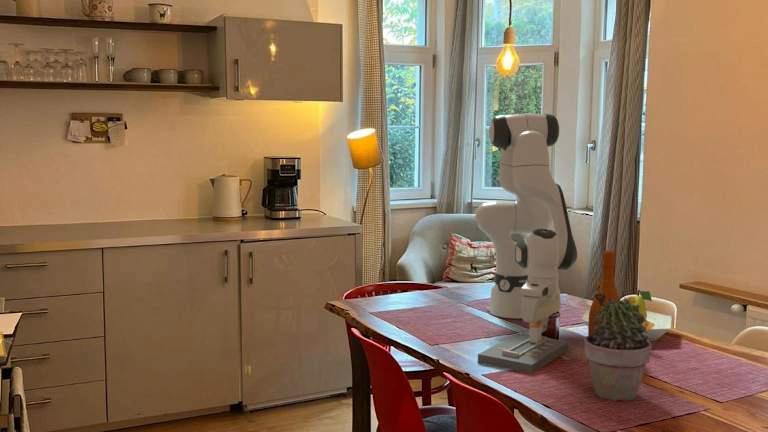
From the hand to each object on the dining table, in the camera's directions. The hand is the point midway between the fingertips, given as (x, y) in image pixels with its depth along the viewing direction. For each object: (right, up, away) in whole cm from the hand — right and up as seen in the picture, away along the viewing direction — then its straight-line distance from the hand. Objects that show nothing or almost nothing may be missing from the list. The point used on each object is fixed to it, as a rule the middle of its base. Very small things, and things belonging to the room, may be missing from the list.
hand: (541, 331), depth 226 cm
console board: (-6, -6, -8) cm, 12 cm away
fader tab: (-2, -2, -3) cm, 4 cm away
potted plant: (+11, -10, -39) cm, 41 cm away
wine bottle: (+17, -6, -6) cm, 19 cm away
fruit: (+30, -3, +15) cm, 33 cm away
